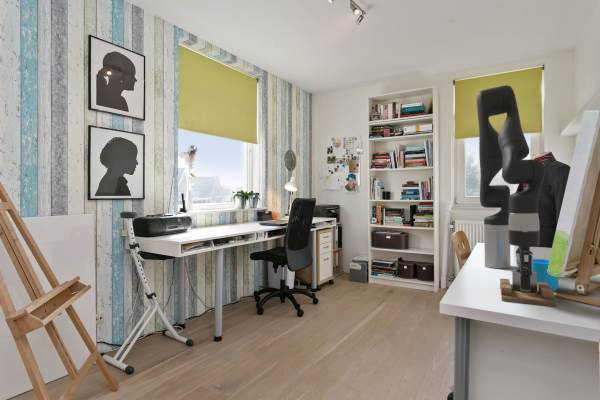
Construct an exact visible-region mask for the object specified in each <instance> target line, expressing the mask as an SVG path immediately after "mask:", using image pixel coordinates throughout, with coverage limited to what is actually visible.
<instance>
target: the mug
mask: <svg viewBox="0 0 600 400" xmlns="http://www.w3.org/2000/svg"><path fill="white" fill-rule="evenodd" d="M549 260H550V259H542V258H532V266H533V267H532V271H536V273H537V282H547V283H548V285H549V286H550V288H551V289H552V291H556V289H558V290H559V286H560V285H559V276H558V277H554V276H551V275H549V274H548V273H547V269H548V265H549Z"/></svg>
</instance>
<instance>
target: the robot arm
mask: <svg viewBox="0 0 600 400" xmlns="http://www.w3.org/2000/svg"><path fill="white" fill-rule="evenodd" d="M476 110H477V111H476V112H477V121H478V133H479V135H478V136H479V137H478V138H479V140H478V144H479V145H478V151H479V152H478V153H479V154H478V156H479V157H478V158H479V169H480V170H479V171H480V178H479V179H480V181H479V182H480V186H479V202H480V206H481V207H482V208H488V209H493V208H494V209H495V208H498V209H500V210H499V211H498V212H496V213H494V214H491V215H487V216H486V217H484V219H483V224H484V225H483V228H484V229H483V233H484V235H483V238H484V239H483V240H484V246H483V247H484V266H485V267H488V268H491V269H510V268H511V267H512V266H511V262H512V261H511V260H512V259H511V246H515V247H517V248H516V250H515V257H516V265H517V266H516V267H517V269H520V276H521V289H523V290H530V277H531V275H532V267H533V266H532V259H534V253H533V252H532V250H531V249H530V248H531V247H539V246H540V244H541V243H540V239H541V238H540V235H541V234H540V219H539V218H540V217H539V196H540V192H541V190H542V189H541V188H542V184H543V182H544V179H545V175H546V167H545V164H544V162H542V160H539V159H535V158H534V159H532V158H531V159H526V158H527V157H528V156H529V154H530V147H529V145H528V141H527V140H526V137H525V134H524V132H523V129H522V124H521V118H520V112H519V107H518V103H517V98H516V95H515V92H514V89H513V87H512V86H511V85H506V84H505V85H501V86H496V87H491V88H486V89H482V90H480V91H478V93H477V95H476ZM503 114H506V118H505V120H504V122H503V124H502V125H501V127H500V130H499V131H497V130H496V129H495V128H494V126H493V125H492V124H491V122H490V117H494V116H498V115H503ZM500 172H501V177H502V180H503V181H504V182H505V183H507V184H508V185H506V184H499V185H498V184H492V185H491V183H492V181H493V180H494V178H495V177H496V176H497V175H498V173H500ZM509 184H510V185H526V187H525V188H524V189H523V190H522V191H519V192H518V191H517V192H513V193H511V189H510V187H509ZM523 269H524V270H528V271H523Z"/></svg>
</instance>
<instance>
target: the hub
mask: <svg viewBox="0 0 600 400" xmlns="http://www.w3.org/2000/svg"><path fill="white" fill-rule="evenodd" d="M523 271H528V270H524V269H523ZM511 276H512V277H511V278H512V280H511V281H512V283H511V284H512V287H513V289H516V290H520V291H530V292H531V291H537V273H536V271H532V275H531V277H530V290H523V289H521V276H520V269H518V268H516V269H512V272H511Z"/></svg>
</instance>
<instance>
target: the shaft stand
mask: <svg viewBox="0 0 600 400" xmlns="http://www.w3.org/2000/svg"><path fill="white" fill-rule="evenodd" d="M499 282H500V284H499V288H500V297H501V301H502V302H508V303H520V304H526V305H527V304H530V305H538V306H549V307H555V306H556V301H555V300H554V299H555V295H554V290H552V289H551V288H550V286H549V285H548V283H547V282H537V291H531V292H530V291H520V290H516V289H513V287H512V283H511V282H510V279H509V278H499Z"/></svg>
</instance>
